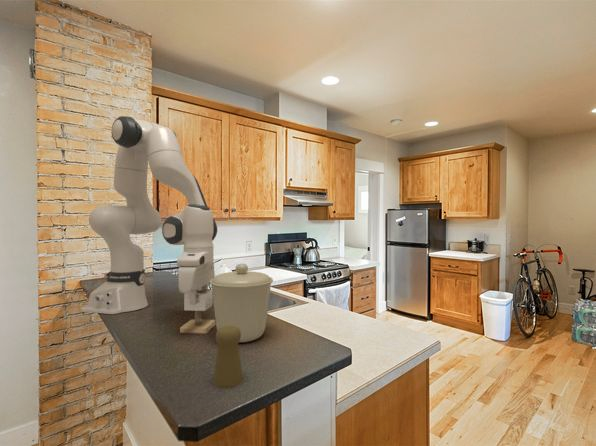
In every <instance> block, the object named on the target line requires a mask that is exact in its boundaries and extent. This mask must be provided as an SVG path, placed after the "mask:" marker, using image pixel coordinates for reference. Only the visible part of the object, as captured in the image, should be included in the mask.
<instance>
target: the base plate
mask: <svg viewBox="0 0 596 446" xmlns="http://www.w3.org/2000/svg"><path fill="white" fill-rule="evenodd" d="M202 313H203V311H195V312H194V318H193V319H189V320H188V321H187V322H186V323H185V324H182V325H181V326H180V328H179V333H180V334H181V333H182V334H208V333H209V332H210V331H211V329H213V328H214V327H215V326H216V319H203V314H202Z"/></svg>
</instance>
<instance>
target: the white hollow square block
mask: <svg viewBox="0 0 596 446" xmlns="http://www.w3.org/2000/svg"><path fill="white" fill-rule="evenodd" d="M183 297H184V298H183V301H184V303H183V304H184V305H183V307H184V308H183V310H184V311H202V312H205V311H207V310H208V309H210V307H212V306H213V292H212V288H211V289H210V288H208V289H201V288H199V289H198V290H197V293H196V298H197V304H196V305H190V299H189V296H188V293H183Z"/></svg>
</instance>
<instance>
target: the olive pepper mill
mask: <svg viewBox="0 0 596 446" xmlns="http://www.w3.org/2000/svg"><path fill="white" fill-rule="evenodd" d="M240 338H241V332H240V330H239V328H237V327H235V326H225V327H221V328H220V329H218V331H217V330H216V333H215V341H216V344H217V351H216V359H215V367H214V373H213V380H212V382H213V385H214V386H216V387H218V388H223V389H225V388H228V389H229V388H232V387H235V386H238V385H239V384H241V383H242V381H243V378H244V377H243V369H242V361H241V355H240V347H239V344H240V343H239V341H240Z"/></svg>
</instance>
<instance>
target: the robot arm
mask: <svg viewBox="0 0 596 446" xmlns="http://www.w3.org/2000/svg"><path fill="white" fill-rule="evenodd" d="M111 137H112V140H113V141H114V142H115V144H116V145H118V147H117V152H116V157H115V163H114V173H113V175H114V176H113V188H114V190H115V191H116V193H117V194H119V195H121V196H122V197H124V198H125V201H126V205H113V204H112V205H111V204H110V205H102V206H97V207H95V208H93V209H92V211H91V212H90V214H89V217H88V224H89V226H90V228H91V230H92V231H94V233H96V234H97V235H99V236H100V237H101V238H102V239H103V240H104V242H105V243H106V245H107V247H108V250H109V256H110V271H109V272H106V273H104V274H103V275H104V276H103V278H105V282H104V283H102V284H101V285H99V286H98V287H97V288H95V289H94V290H93V291H91V293H90V294H89V297H88V302H87V304H85V305H83V306H82V307H81V308H80V312H84V313H94V314H107V315H116V314H121V313H127V312H133V311H137V310H140V309H141V310H142V309H144V308H146V307H148V306H149V303H148V300H147V295H146V290H145V280H146V270H145V269H144V266H145V265H144V262H145V261H144V259H145V255H144V254H145V253H144V250H143V248H142V247H141V246H139V245H138V244H135V243H134V242H133V241H132V239H131V236H130V235H147V234H151V233H154V232H157V231H158V230H159V228H160V226H161V224H162V216H161V214H160V213H159V211H158V210H157V209H156V208H155V207H154V206H153V205H152V203H151V201H150V199H149V195H148V173H149V172H148V171H149V169H150V171H151V174H152V176H153V177H154V178H155V179H156V180H157V181H158V182H160V183H161V184H164V185H167V186H169V187H170V188H173V189H175V190H176V191H178V192H180V193H181V194H182V195H183V196H184V197H185V199H186V200H187V203H188V204H186V206H185V207H184V209H183V210H182V211H181V212H178V213H176V214H174V215H171V216H170V215H169V216H168V217H167V218H166V219H165V220H164V222H163V224H162V226H161V227H162V229H161V234H162V237H163V239H164V240H165V242H167V243H168V244H169V245H172V246H173V245H174V246H182V245H183V251H182V253H181V254H180V255H179V257H178V258H177V260H176V265H177V266H178V267H179V268H178V272H177V276H178V279H177V281H178V282H177V283H178V290H179V292H180V293H181V294H185V293H188V296H189V299H190V305H196V304H197V298H196V293H197V290H198V289H209V284H210V283H209V281H210V280H211V279H213V278H214V277H215V276H216V275H215V263H214V243H213V241H215V239H216V236H217V234H218V225H217V222H216V220H215V219H214V216H213V212H212V209H211V207H209V206H208V205H207V201H206V199H205V197H204V193H203V191H202V189H201V186H200V183H199V182H198V179H197V178H196V176H195V175H194V174H193V173H192V172H191V171H190V170H189V168H188V165H187V164H186V162H185V159H184V156H183V153H182V152H183V151H182V149H181V145H180V143H179V140H178V138H177V134H176V132H175V131H174V130H173V129H171V128H169V127H167V126H165V125H164V126H163V125H161V124H159V123H156V122H152V121H149V120H144V119H139V118H135V117H132V116H126V115H123V116H118V117H117V118H116V119H115V120H114V121H113V123H112V126H111ZM148 168H149V169H148Z"/></svg>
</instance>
